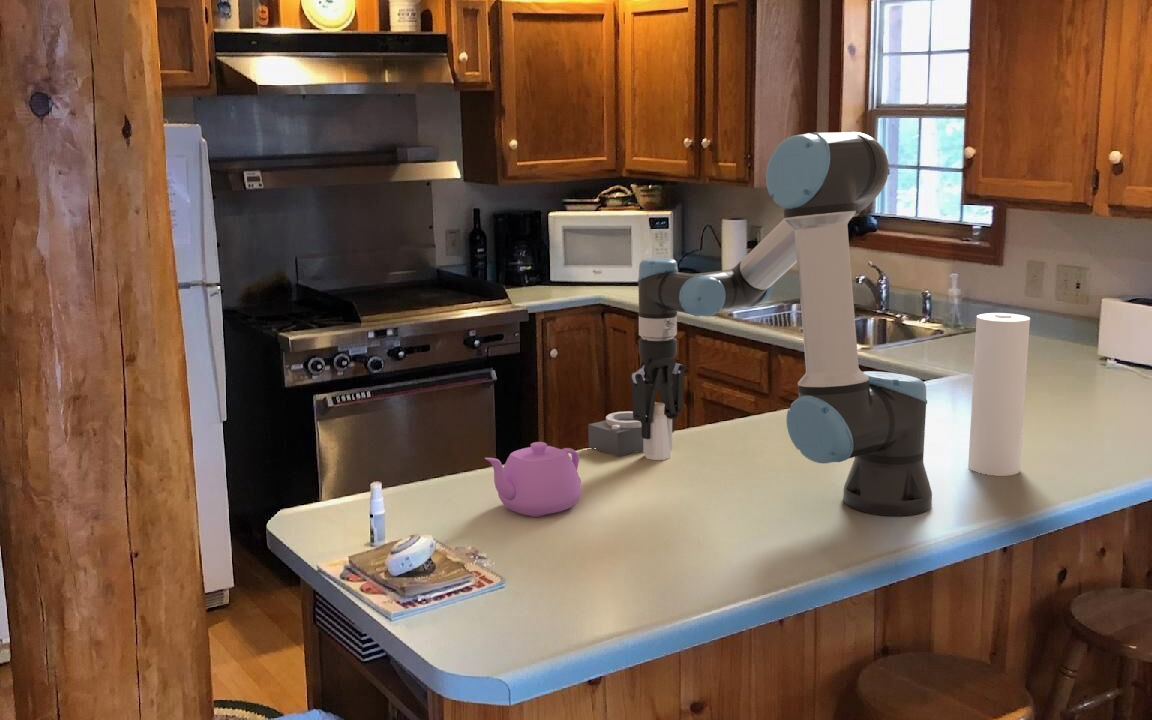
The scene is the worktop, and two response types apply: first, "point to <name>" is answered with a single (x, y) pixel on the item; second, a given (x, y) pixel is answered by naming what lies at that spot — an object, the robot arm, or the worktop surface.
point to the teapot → (538, 480)
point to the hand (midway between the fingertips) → (657, 451)
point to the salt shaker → (660, 434)
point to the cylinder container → (998, 393)
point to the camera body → (616, 434)
